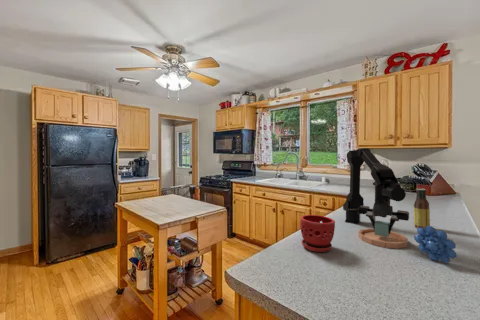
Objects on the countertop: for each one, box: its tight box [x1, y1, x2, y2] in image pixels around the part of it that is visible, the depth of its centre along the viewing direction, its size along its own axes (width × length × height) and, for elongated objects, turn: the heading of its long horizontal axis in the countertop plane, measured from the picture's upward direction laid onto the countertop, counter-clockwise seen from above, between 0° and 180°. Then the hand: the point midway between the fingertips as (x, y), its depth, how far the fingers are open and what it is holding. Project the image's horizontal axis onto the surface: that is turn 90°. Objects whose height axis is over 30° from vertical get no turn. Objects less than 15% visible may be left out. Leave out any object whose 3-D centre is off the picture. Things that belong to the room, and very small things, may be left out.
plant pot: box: [300, 214, 336, 253], centre depth 91 cm, size 13×13×12 cm
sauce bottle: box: [413, 188, 431, 230], centre depth 115 cm, size 7×6×20 cm
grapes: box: [414, 225, 458, 264], centre depth 79 cm, size 12×7×12 cm, turn 37°
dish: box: [357, 228, 409, 249], centre depth 99 cm, size 18×18×2 cm
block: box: [375, 220, 390, 237], centre depth 99 cm, size 5×5×5 cm
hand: (382, 231), depth 99 cm, fingers closed on block, 5 cm apart
